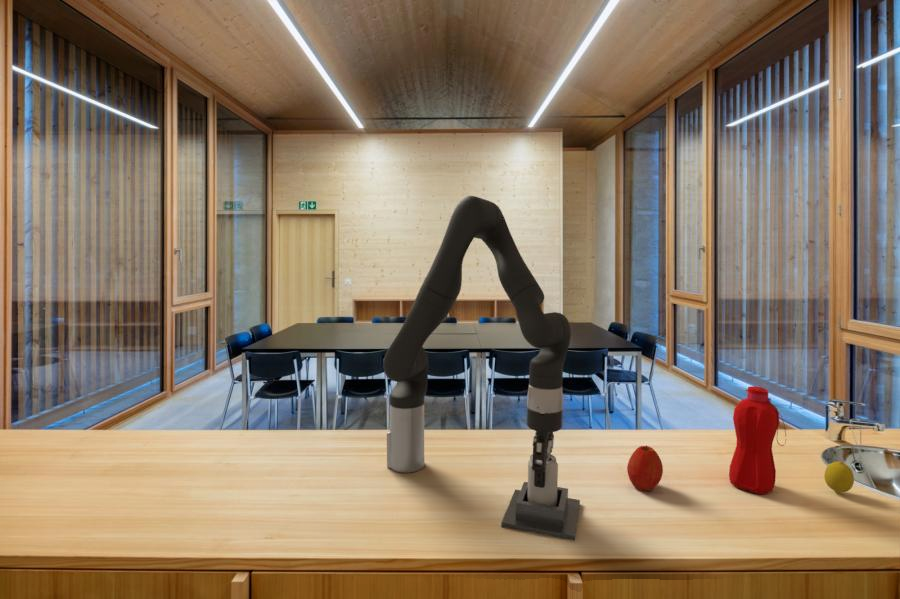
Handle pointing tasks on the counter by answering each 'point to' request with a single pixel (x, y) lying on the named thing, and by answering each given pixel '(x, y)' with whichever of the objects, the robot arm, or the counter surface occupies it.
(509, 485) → the counter surface
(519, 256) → the robot arm
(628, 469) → the apple
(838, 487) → the lemon
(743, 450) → the water bottle
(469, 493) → the counter surface
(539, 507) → the grey square socket holder
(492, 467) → the counter surface
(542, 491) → the beverage can
